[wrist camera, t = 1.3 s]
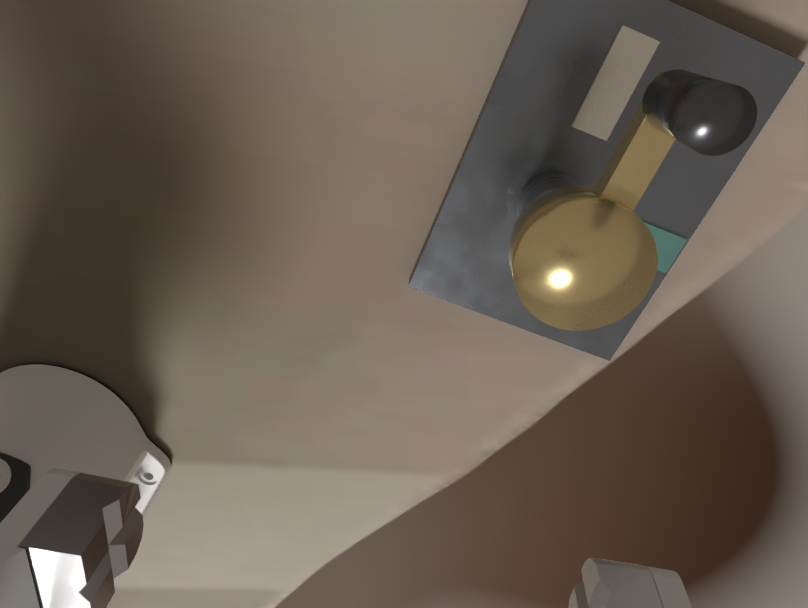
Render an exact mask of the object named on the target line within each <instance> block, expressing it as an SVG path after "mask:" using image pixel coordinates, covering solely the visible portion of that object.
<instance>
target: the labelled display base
mask: <svg viewBox="0 0 808 608" xmlns="http://www.w3.org/2000/svg"><path fill="white" fill-rule="evenodd" d="M804 64H805V62H803V61H801V60H798V59H796V58H794V57H792V56H790V55H787V54H785V53H783V52H781V51H779V50H776V49H774V48H772V47H770V46H768V45H765V44H763V43H761V42H759V41H757V40H755V39H752V38H750V37H748V36H746V35H744V34H741V33H739V32H737V31H735V30H733V29H730V28H728V27H726V26H724V25H722V24H719V23H717V22H715V21H713V20H711V19H708V18H706V17H704V16H702V15H700V14H698V13H695V12H693V11H691V10H689V9H687V8H684V7H682V6H680V5H678V4H676V3H673V2H671V1H669V0H529V1H528V3H527V6H526V8H525V10H524V13H523V15H522V17H521V20H520V22H519V24H518V27H517V29H516V31H515V34H514V36H513V38H512V41H511V43H510V45H509V48H508V50H507V52H506V55H505V57H504V59H503V62H502V64H501V66H500V69H499V71H498V73H497V76H496V78H495V80H494V83H493V85H492V87H491V90H490V92H489V94H488V97H487V99H486V101H485V104H484V106H483V108H482V111H481V113H480V115H479V118H478V120H477V122H476V125H475V127H474V129H473V132H472V134H471V136H470V139H469V141H468V143H467V146H466V148H465V150H464V153H463V155H462V157H461V160H460V162H459V164H458V167H457V169H456V171H455V174H454V176H453V178H452V181H451V183H450V185H449V188H448V190H447V192H446V195H445V197H444V199H443V202H442V204H441V206H440V209H439V211H438V213H437V216H436V218H435V220H434V223H433V225H432V227H431V230H430V232H429V234H428V237H427V239H426V241H425V244H424V246H423V248H422V251H421V253H420V255H419V258H418V260H417V262H416V265H415V267H414V269H413V272H412V274H411V276H410V279H409V286H408V287H411V288H413V289H416V290H419V291H422V292H424V293H427V294H430V295H432V296H435V297H438V298H441V299H443V300H446V301H449V302H451V303H454V304H457V305H460V306H462V307H465V308H468V309H470V310H473V311H476V312H479V313H481V314H484V315H487V316H489V317H492V318H495V319H498V320H500V321H503V322H506V323H508V324H511V325H514V326H517V327H519V328H522V329H525V330H527V331H530V332H533V333H536V334H538V335H541V336H544V337H546V338H549V339H552V340H555V341H557V342H560V343H563V344H566V345H568V346H571V347H574V348H576V349H579V350H582V351H585V352H587V353H590V354H593V355H595V356H598V357H601V358H604V359H606V360H609V361H610V359H611V358H612V356H613V355H614V353H615V352H616V350H617V349H618V347H619V346H620V344H621V343H622V341H623V340H624V338H625V337H626V335H627V334H628V332H629V331H630V329H631V327H632V326H633V324H634V323H635V321H636V320H637V318H638V317H639V315H640V314H641V312H642V311H643V309H644V308H645V306H646V305H647V303H648V302H649V300H650V299H651V297H652V296H653V294H654V292H655V291H656V289H657V288H658V286H659V285H660V283H661V282H662V280H663V279H664V277H665V276H666V274H667V273H668V271H669V270H670V268H671V267H672V265H673V264H674V262H675V260H676V259H677V257H678V256H679V254H680V253H681V251H682V250H683V248H684V247H685V245H686V244H687V242H688V241H689V239H690V238H691V236H692V235H693V233H694V232H695V230H696V229H697V227H698V225H699V224H700V222H701V221H702V219H703V218H704V216H705V215H706V213H707V212H708V210H709V209H710V207H711V206H712V204H713V203H714V201H715V200H716V198H717V197H718V195H719V194H720V192H721V190H722V189H723V187H724V186H725V184H726V183H727V181H728V180H729V178H730V177H731V175H732V174H733V172H734V171H735V169H736V168H737V166H738V165H739V163H740V162H741V160H742V158H743V157H744V155H745V154H746V152H747V151H748V149H749V148H750V146H751V145H752V143H753V142H754V140H755V139H756V137H757V136H758V134H759V133H760V131H761V130H762V128H763V127H764V125H765V123H766V122H767V120H768V119H769V117H770V116H771V114H772V113H773V111H774V110H775V108H776V107H777V105H778V104H779V102H780V101H781V99H782V98H783V96H784V95H785V93H786V92H787V90H788V88H789V87H790V85H791V84H792V82H793V81H794V79H795V78H796V76H797V75H798V73H799V72H800V70H801V69H802V67H803V66H804ZM675 69H681V70H686V71H689V72H693V73H696V74H700V75H703V76H707V77H710V78H714V79H717V80H721V81H724V82H728V83H731V84H735V85H738V86H741V87H743V88H745V89H746V90H747V91H749V92H750V93H751V95H752V96H753V98H754V99H755V102H756V105H757V119H756V123H755V126H754V128H753V130H752V132H751V134H750V135H749V137H748V138H747V139H746V140H745V141H744V142H743V143H742V144H741V145H740V146H739V147H737V148H736V149H734V150H732V151H730V152H728V153H726V154H723V155H718V156H708V155H703V154H700V153H698V152H696V151H695V150H693V149H691V148H690V147H688V146H686V145H684V144H683V143H681V142H679V141H678V140H675V141H674V143H673V145H672V146H671V148H670V150H669V151H668V153H667V155H666V156H665V158H664V160H663V161H662V163H661V165H660V167H659V168H658V170H657V172H656V173H655V175H654V177H653V178H652V180H651V182H650V183H649V185H648V187H647V188H646V190H645V192H644V193H643V195H642V197H641V199H640V200H639V202H638V204H637V205H636V207H635V209H634V210H633V211H634V212H635V213H636V215H637V216H638V217H639V218H640V219H641V220H642V221H643V222H644V223H645V225H646V226H647V227H648V229H649V230H650V232H651V234H652V236H653V238H654V241H655V243H656V248H657V253H658V264H657V271H656V275H655V279H654V281H653V284H652V286H651V288H650V290H649V291H648V293H647V295H646V296H645V297H644V299H643V300H642V301H641V302H640V304H639V305H638V306H637V307H636V308H635V309H633V310H632V311H631V312H630V313H629V314H627V315H626V316H624V317H623V318H621V319H620V320H618V321H616V322H614V323H612V324H609V325H607V326H604V327H601V328H597V329H592V330H585V331H571V330H564V329H559V328H556V327H552V326H550V325H548V324H546V323H544V322H542V321H540V320H539V319H537V318H536V317H535V316H534V315H532V314H531V313H530V312H529V311H528V310H527V308H526V307H525V306H524V304H523V303H522V301H521V299H520V297H519V295H518V293H517V290H516V286H515V283H514V279H513V275H512V271H511V268H510V263H509V257H508V248H509V241H510V237H511V234H512V231H513V229H514V227H515V225H516V223H517V221H518V219H519V218H520V217H521V215H522V214H523V213H524V211H525V210H526V209H527V208H528V207H529V206H530V205H532V204H533V203H534V202H535V201H537V200H538V199H539V198H541V197H543V196H544V195H546V194H548V193H550V192H552V191H555V190H558V189H561V188H565V187H570V186H580V185H582V186H593V187H595V185H596V183H597V182H598V180H599V178H600V176H601V174H602V172H603V171H604V169H605V167H606V165H607V163H608V162H609V160H610V158H611V156H612V154H613V152H614V151H615V149H616V147H617V145H618V143H619V142H620V140H621V138H622V136H623V134H624V132H625V131H626V129H627V127H628V125H629V123H630V122H631V120H632V118H633V116H634V114H635V112H636V111H637V109H638V107H639V105H640V103H641V101H642V100H643V96H644V93H645V91H646V89H647V87H648V86H649V84H650V83H651V82H652V81H653V80H654V78H655V76H656V74H657V72H658V71H662V72H666V71H669V70H675Z"/></svg>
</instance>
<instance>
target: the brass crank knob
mask: <svg viewBox="0 0 808 608" xmlns="http://www.w3.org/2000/svg"><path fill="white" fill-rule="evenodd" d="M756 119H757V105H756V102H755V99H754V98H753V96H752V95H751V93H750V92H749V91H747V90H746V89H745V88H743V87H741V86H738V85H735V84H731V83H728V82H724V81H721V80H717V79H714V78H710V77H707V76H703V75H700V74H696V73H693V72H689V71H686V70H681V69H675V70H669V71H666V72H662V71H658V72H657V74H656V76H655V78H654V80H653V81H652V82H651V83H650V84H649V86H648V87H647V89H646V91H645V93H644V96H643V100H642V101H641V103H640V105H639V107H638V109H637V111H636V112H635V114H634V116H633V118H632V120H631V122H630V123H629V125H628V127H627V129H626V131H625V132H624V134H623V136H622V138H621V140H620V142H619V143H618V145H617V147H616V149H615V151H614V152H613V154H612V156H611V158H610V160H609V162H608V163H607V165H606V167H605V169H604V171H603V172H602V174H601V176H600V178H599V180H598V182H597V183H596V185H595V187H593V186H582V185H580V186H570V187H565V188H561V189H558V190H555V191H552V192H550V193H548V194H546V195H544V196H543V197H541V198H539V199H538V200H537V201H535V202H534V203H533V204H532V205H530V206H529V207H528V208H527V209H526V210H525V211H524V213H523V214H522V215H521V217H520V218H519V219H518V221H517V223H516V225H515V227H514V229H513V231H512V234H511V237H510V241H509V248H508V257H509V263H510V268H511V271H512V275H513V279H514V283H515V286H516V290H517V293H518V295H519V297H520V299H521V301H522V303H523V304H524V306H525V307H526V308H527V310H528V311H529V312H530V313H531V314H532V315H534V316H535V317H536V318H537V319H539V320H540V321H542V322H544V323H546V324H548V325H550V326H552V327H556V328H559V329H564V330H571V331H585V330H592V329H597V328H601V327H604V326H607V325H609V324H612V323H614V322H616V321H618V320H620V319H621V318H623V317H624V316H626V315H627V314H629V313H630V312H631V311H632V310H633V309H635V308H636V307H637V306H638V305H639V304H640V302H641V301H642V300H643V299H644V297H645V296H646V295H647V293H648V291H649V290H650V288H651V286H652V284H653V281H654V279H655V275H656V271H657V264H658V253H657V248H656V243H655V241H654V238H653V236H652V234H651V232H650V230H649V229H648V227H647V226H646V225H645V223H644V222H643V221H642V220H641V219H640V218H639V217H638V216H637V215H636V213H635V212H634V211H633V210H634V209H635V207H636V205H637V204H638V202H639V200H640V199H641V197H642V195H643V193H644V192H645V190H646V188H647V187H648V185H649V183H650V182H651V180H652V178H653V177H654V175H655V173H656V172H657V170H658V168H659V167H660V165H661V163H662V161H663V160H664V158H665V156H666V155H667V153H668V151H669V150H670V148H671V146H672V145H673V143H674V141H675V140H678V141H679V142H681V143H683V144H684V145H686V146H688V147H690V148H691V149H693V150H695V151H696V152H698V153H700V154H703V155H708V156H718V155H723V154H726V153H728V152H730V151H732V150H734V149H736V148H737V147H739V146H740V145H741V144H742V143H743V142H744V141H745V140H746V139H747V138H748V137H749V135H750V134H751V132H752V130H753V128H754V126H755V123H756Z"/></svg>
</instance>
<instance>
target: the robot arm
mask: <svg viewBox="0 0 808 608" xmlns="http://www.w3.org/2000/svg"><path fill="white" fill-rule="evenodd" d="M170 466H171V463H170V460H169V459H168V457H167V456H166V455H165V454H164V453H163V452H162V451H161V450H160V449H159V448H158V447H157V446H155V445H154V444H153V443H152V442H151V441H150V440H149V439H148V438H147V436H146V435H145V433H144V432H143V430H142V428H141V426H140V424H139V422H138V421H137V419H136V417H135V416H134V414H133V413H132V412H131V410H130V409H129V408H128V407H127V406H126V405H125V403H124V402H123V401H122V400H121V399H119V398H118V397H117V396H116V395H115V394H114V393H113V392H111V391H110V390H109V389H107V388H106V387H104V386H103V385H101V384H100V383H98V382H96V381H95V380H93V379H91V378H89V377H87V376H85V375H82V374H80V373H77V372H75V371H72V370H68V369H65V368H61V367H56V366H50V365H39V364H32V365H22V366H17V367H13V368H10V369H7V370H5V371H3V372H1V373H0V608H106V607H107V605H108V603H109V602H110V600H111V598H112V596H113V595H114V593H115V588H114V580H113V579H114V578H115V577H117V576H118V575H120V574H121V573H123V572H124V571H126V570H127V569H128V568H129V567H130V565H131V563H132V561H133V559H134V557H135V556H136V553H137V551H138V548H139V545H140V542H141V539H142V533H143V514H144V512H145V510H146V509H147V507H148V505H149V503H150V502H151V500H152V498H153V497H154V495H155V493H156V491H157V490H158V488H159V486H160V485H161V483H162V481H163V479H164V478H165V476H166V474H167V473H168V471H169V469H170ZM581 572H582V576H583V582H582V583H581V584H579V585H577V586H575V587H574V589H573V592H572V595H571V597H570V600H569V608H692V607H691V604H690V602H689V599H688V596H687V594H686V591H685V589H684V586H683V583H682V581H681V578H680V576H679V575H678V574H677V573H676V572H675V571H670V570H664V569H658V568H652V567H644V566H642V565H636V564H629V563H623V562H616V561H610V560H603V559H597V558H589V559H588V560H587V561H586V562H585V564H584V566H583V568H582V570H581Z"/></svg>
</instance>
